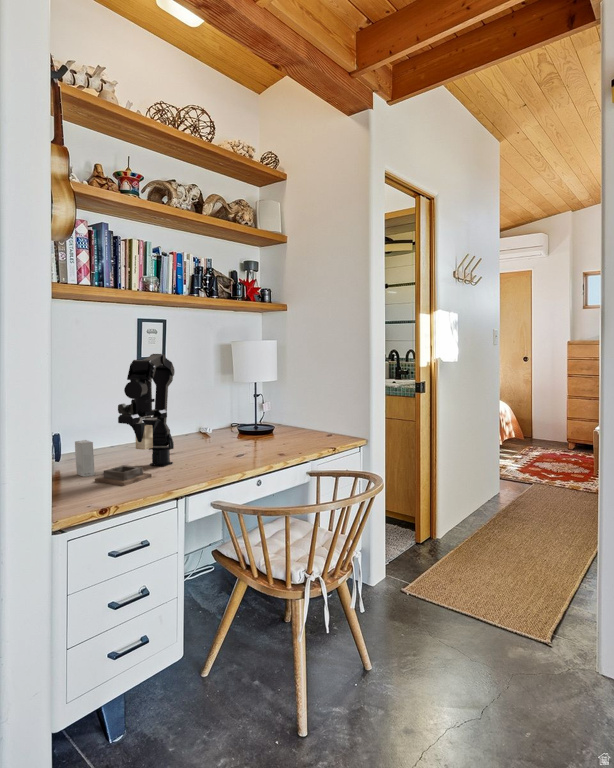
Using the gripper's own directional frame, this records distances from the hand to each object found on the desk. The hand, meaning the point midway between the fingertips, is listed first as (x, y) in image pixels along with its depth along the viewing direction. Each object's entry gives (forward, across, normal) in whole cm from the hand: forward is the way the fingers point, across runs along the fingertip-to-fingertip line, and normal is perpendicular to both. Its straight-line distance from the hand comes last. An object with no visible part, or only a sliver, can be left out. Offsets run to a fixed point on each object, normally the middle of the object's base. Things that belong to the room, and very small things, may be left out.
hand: (144, 441), depth 171 cm
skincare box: (+13, +4, -23) cm, 27 cm away
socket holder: (+13, +4, -6) cm, 15 cm away
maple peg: (+2, 0, 0) cm, 3 cm away
